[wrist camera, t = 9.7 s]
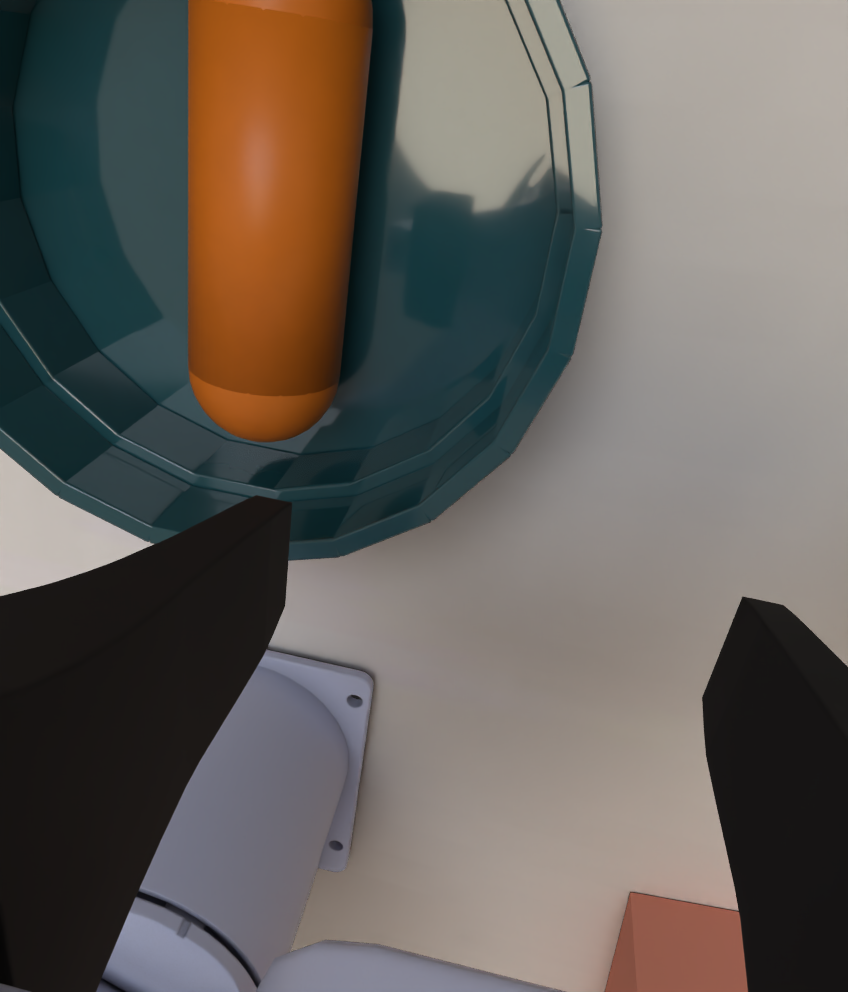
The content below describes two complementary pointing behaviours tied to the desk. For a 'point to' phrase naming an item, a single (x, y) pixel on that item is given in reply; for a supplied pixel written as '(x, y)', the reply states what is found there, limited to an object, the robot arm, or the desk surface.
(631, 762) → the desk surface
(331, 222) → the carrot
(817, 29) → the desk surface
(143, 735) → the robot arm
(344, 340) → the teal shallow bowl
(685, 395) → the desk surface
